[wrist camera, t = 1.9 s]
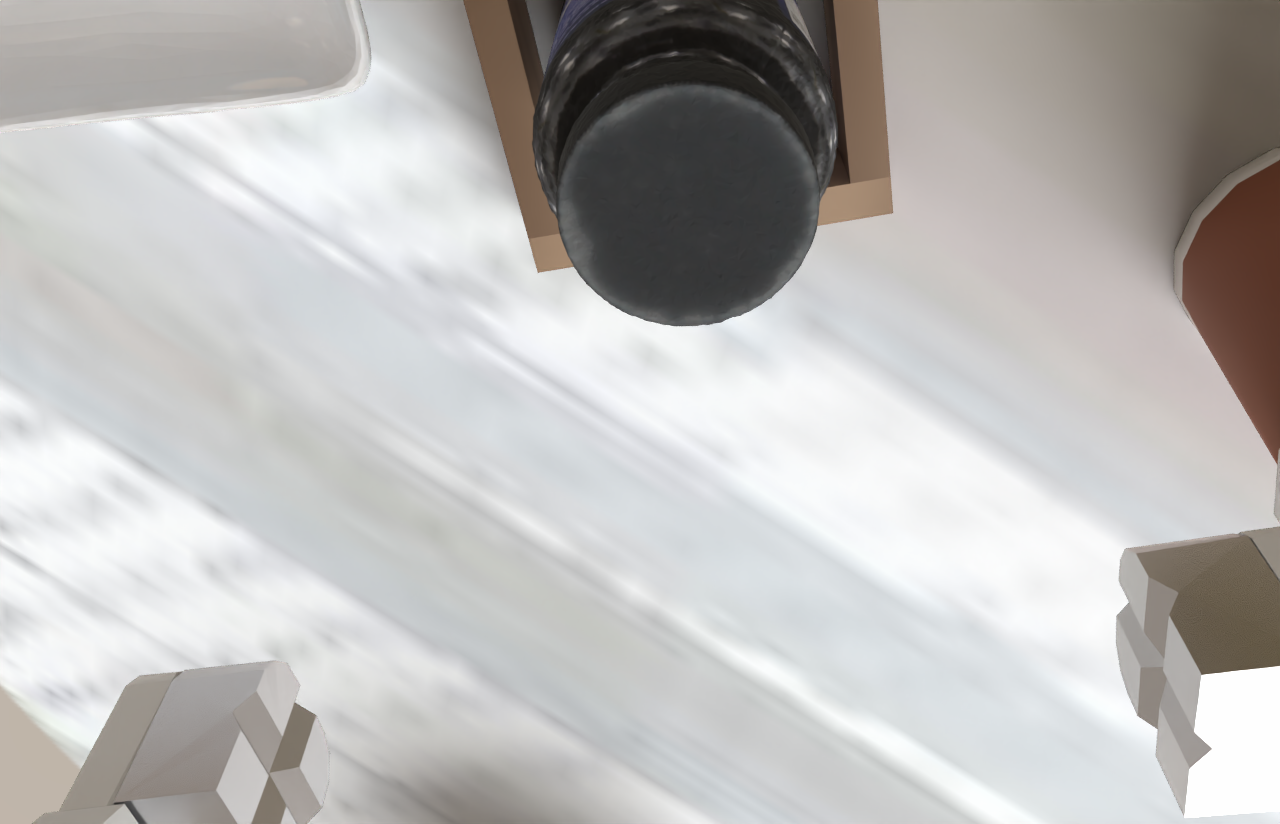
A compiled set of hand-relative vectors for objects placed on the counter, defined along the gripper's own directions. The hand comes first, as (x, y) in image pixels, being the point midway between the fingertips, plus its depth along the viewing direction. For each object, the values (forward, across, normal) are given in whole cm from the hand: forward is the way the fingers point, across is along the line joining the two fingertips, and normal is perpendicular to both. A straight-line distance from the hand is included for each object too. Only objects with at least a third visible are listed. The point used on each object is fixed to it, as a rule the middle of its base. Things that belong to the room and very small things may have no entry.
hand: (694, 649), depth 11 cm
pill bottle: (+22, 0, 0) cm, 22 cm away
